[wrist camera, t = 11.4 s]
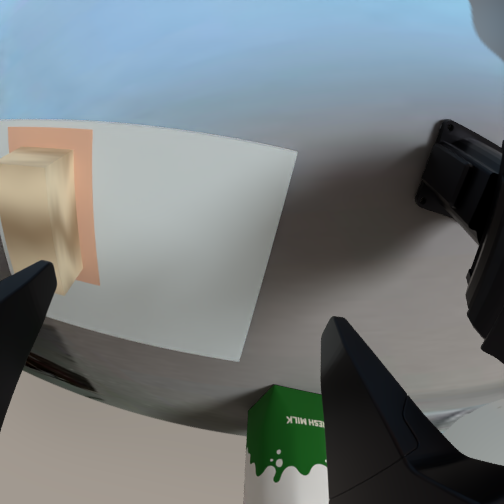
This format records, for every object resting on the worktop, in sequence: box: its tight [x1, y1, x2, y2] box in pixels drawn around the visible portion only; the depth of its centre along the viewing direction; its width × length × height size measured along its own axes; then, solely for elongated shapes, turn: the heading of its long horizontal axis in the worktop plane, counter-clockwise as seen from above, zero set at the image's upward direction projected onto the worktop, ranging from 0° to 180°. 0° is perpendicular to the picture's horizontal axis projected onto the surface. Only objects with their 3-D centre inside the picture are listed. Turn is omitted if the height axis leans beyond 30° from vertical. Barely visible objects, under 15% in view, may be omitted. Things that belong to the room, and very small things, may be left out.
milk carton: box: [243, 385, 330, 504], centre depth 26 cm, size 9×9×20 cm
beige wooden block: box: [0, 147, 83, 296], centre depth 19 cm, size 10×5×4 cm, turn 169°
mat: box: [0, 119, 298, 362], centre depth 23 cm, size 24×20×1 cm
